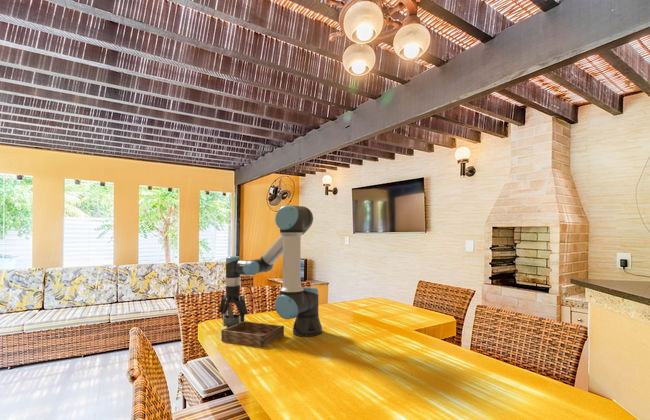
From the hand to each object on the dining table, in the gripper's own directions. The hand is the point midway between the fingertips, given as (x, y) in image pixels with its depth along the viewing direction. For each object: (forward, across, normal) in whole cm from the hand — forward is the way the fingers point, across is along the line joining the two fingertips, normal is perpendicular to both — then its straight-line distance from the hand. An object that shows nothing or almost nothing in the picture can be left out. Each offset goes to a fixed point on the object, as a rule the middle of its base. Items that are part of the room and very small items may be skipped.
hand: (232, 326), depth 188 cm
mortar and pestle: (+1, 0, 0) cm, 2 cm away
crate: (+1, -20, +9) cm, 22 cm away
